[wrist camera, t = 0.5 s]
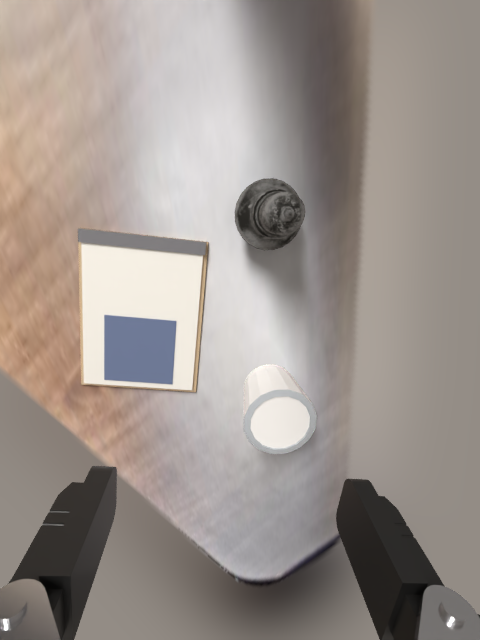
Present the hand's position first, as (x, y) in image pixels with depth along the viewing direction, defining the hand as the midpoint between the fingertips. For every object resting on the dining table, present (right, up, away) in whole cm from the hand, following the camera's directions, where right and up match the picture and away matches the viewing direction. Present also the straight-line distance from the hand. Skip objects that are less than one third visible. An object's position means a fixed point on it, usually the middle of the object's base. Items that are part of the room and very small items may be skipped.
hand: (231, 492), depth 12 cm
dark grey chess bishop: (+3, +16, +21) cm, 26 cm away
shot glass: (+4, -1, +26) cm, 26 cm away
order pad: (-10, +6, +22) cm, 25 cm away
